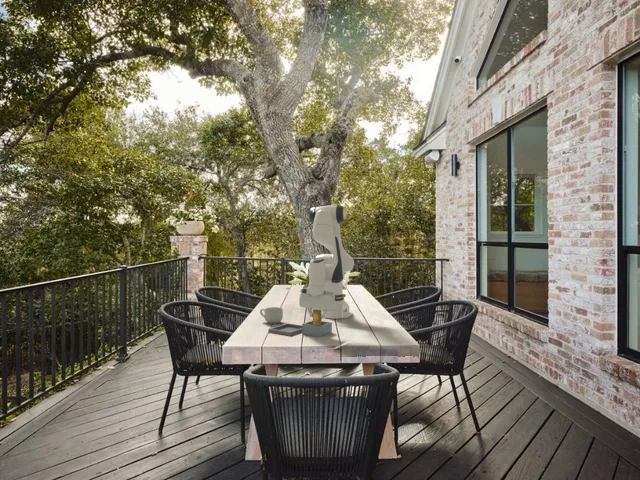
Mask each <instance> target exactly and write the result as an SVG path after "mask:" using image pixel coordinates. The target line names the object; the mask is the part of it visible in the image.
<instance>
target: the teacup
mask: <svg viewBox="0 0 640 480" xmlns="http://www.w3.org/2000/svg"><path fill="white" fill-rule="evenodd" d="M283 310H284V308H282V307H279V306H277V307H276V306H273V307H272V306H271V307H266V308H261V309H260V310H259V313H260V315H261V316H262V317H263V318H264V321H265V322H267V323H268V324H270V325H271V324H272V325H273V324H279V323H280V322H281V321H283V317H284V315H283V314H284V313H283V312H284V311H283ZM263 311H264V313H263Z"/></svg>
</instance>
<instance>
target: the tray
mask: <svg viewBox="0 0 640 480" xmlns="http://www.w3.org/2000/svg"><path fill="white" fill-rule="evenodd" d="M300 333H301V334H302V324H294V323H288V322H287V323H283V324H280V325H278V326H273V327H270V328H268V334H277V335H283V336H288V337H292V336H294V335H295V336H296V335H298V334H300Z"/></svg>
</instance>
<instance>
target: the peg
mask: <svg viewBox="0 0 640 480" xmlns="http://www.w3.org/2000/svg"><path fill="white" fill-rule="evenodd" d="M312 313H313V317H312V320H313V325H317V326H321V321H322V318H321V315H322V309H313V308H312Z"/></svg>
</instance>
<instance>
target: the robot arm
mask: <svg viewBox="0 0 640 480" xmlns="http://www.w3.org/2000/svg"><path fill="white" fill-rule="evenodd" d="M346 217H347V211H346V209H345V207H344V206H343V205H332V204H331V205H329V204H328V205H322V206H313V207H311V208H310V209H309V211H308V219H309V222H310V223H311V225H312V237H313V240H315V242H317V243H318V244H320V245H321V246H324V247H325V248H326V249H327V250H329V251H330V252H331V253H322V254H318V255H317V256H315V258H312V259H310V262H309V266H308V269H307V273H308V274H307V278H308V279H309V280H308V281H309V282H308V286H307V287H304V288H301V289H300V291H299V292H300V294H299V300H298V301H299V303H298V305H299V306H300V308H305V309H306V308H307V311H308V313H309V317H310V318H313V309H321V310H322V315H321V319H322V320H323V319H332V320H333V319H335V320H336V319H348V318H349V317H351V316H353V315H354V312H352V311H350V305H349V303H347V301H346V300H345V298H346V297H347V294H346V293H343V287H344V286H343V280H344V278H345V273H347V272H351V271H352V270H353V268H354V267H355V261H354V260H355V259H354V257H352V256H351V255H350V254H349V253H348V252H347V251H346V250H345V248H344V246H343V243H342V236H341V235H342V234H341V226H340V225H341V224H343V223H344V222H345V220H346Z"/></svg>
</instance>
